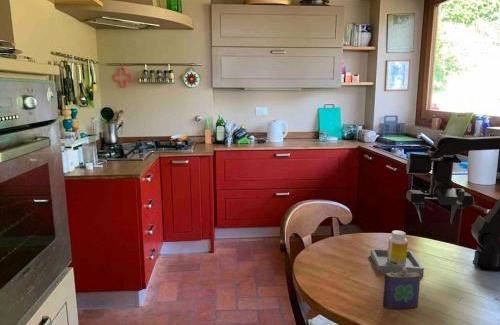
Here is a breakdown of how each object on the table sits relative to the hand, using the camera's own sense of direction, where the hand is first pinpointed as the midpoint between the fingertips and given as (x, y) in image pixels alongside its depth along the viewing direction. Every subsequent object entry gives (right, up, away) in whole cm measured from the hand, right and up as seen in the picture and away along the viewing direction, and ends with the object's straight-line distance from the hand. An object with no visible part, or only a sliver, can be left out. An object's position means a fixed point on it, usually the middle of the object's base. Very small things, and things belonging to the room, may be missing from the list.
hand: (436, 223), depth 124 cm
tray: (-14, -13, -1) cm, 19 cm away
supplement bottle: (-13, -13, -1) cm, 19 cm away
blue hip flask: (-21, -18, -25) cm, 37 cm away
